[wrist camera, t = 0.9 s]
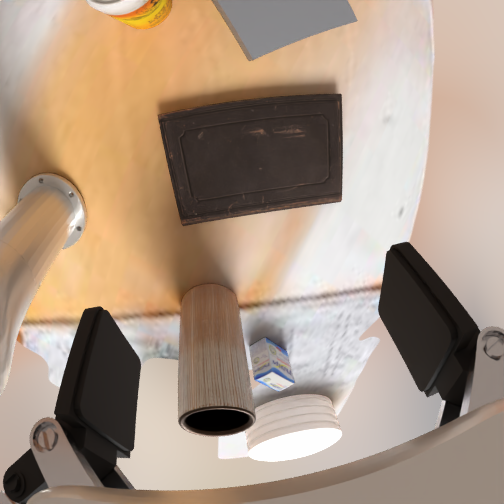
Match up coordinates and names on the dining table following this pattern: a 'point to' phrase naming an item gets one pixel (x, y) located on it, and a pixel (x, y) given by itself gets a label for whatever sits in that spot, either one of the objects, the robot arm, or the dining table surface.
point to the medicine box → (271, 365)
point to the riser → (280, 21)
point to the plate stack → (292, 428)
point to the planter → (213, 364)
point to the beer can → (135, 11)
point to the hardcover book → (254, 155)
